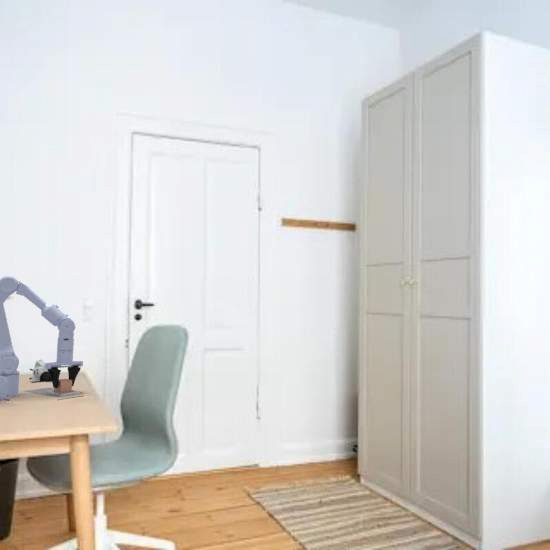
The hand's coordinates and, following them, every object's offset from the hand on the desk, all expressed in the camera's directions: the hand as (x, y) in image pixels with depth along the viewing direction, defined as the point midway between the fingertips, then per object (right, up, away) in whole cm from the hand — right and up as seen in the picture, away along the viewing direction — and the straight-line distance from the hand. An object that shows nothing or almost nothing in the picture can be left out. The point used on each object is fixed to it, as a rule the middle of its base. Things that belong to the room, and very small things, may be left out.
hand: (63, 386), depth 211 cm
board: (-5, -4, +3) cm, 7 cm away
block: (0, -2, 0) cm, 2 cm away
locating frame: (0, -2, 0) cm, 2 cm away
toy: (-22, -5, +33) cm, 41 cm away
